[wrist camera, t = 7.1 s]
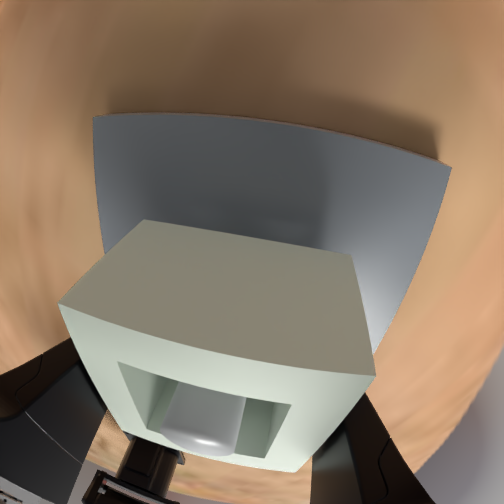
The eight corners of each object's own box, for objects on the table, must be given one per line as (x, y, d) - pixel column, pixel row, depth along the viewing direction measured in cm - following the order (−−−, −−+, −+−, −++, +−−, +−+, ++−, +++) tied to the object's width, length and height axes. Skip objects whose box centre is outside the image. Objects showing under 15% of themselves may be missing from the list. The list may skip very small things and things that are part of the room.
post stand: (345, 382, 14) (345, 501, 8) (135, 339, 15) (79, 438, 9) (439, 160, 8) (584, 272, 2) (109, 113, 9) (-56, 169, 3)
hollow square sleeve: (303, 382, 11) (295, 472, 7) (160, 351, 11) (121, 429, 8) (351, 255, 8) (375, 375, 4) (143, 219, 8) (57, 302, 5)
